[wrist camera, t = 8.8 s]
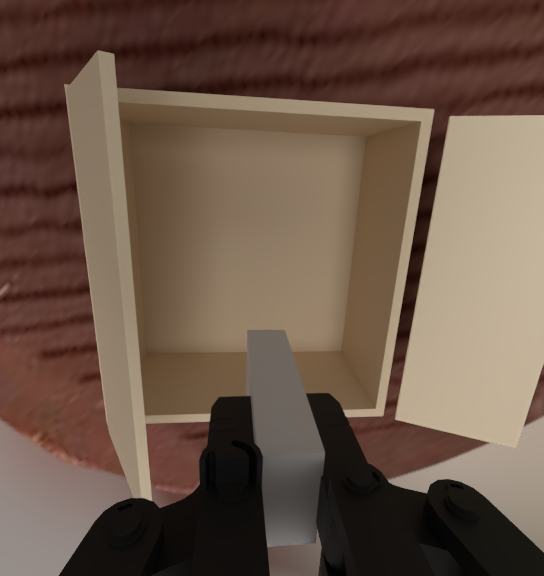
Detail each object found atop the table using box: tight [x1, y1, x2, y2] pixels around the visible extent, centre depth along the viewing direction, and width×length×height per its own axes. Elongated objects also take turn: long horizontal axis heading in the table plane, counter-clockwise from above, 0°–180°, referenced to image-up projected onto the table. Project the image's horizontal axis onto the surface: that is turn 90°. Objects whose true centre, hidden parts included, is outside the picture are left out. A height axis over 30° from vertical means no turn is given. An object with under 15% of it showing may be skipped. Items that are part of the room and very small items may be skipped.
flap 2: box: [395, 115, 544, 449], centre depth 22 cm, size 21×1×8 cm
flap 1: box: [66, 50, 152, 501], centre depth 18 cm, size 21×1×8 cm
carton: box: [64, 84, 434, 425], centre depth 28 cm, size 22×21×10 cm
